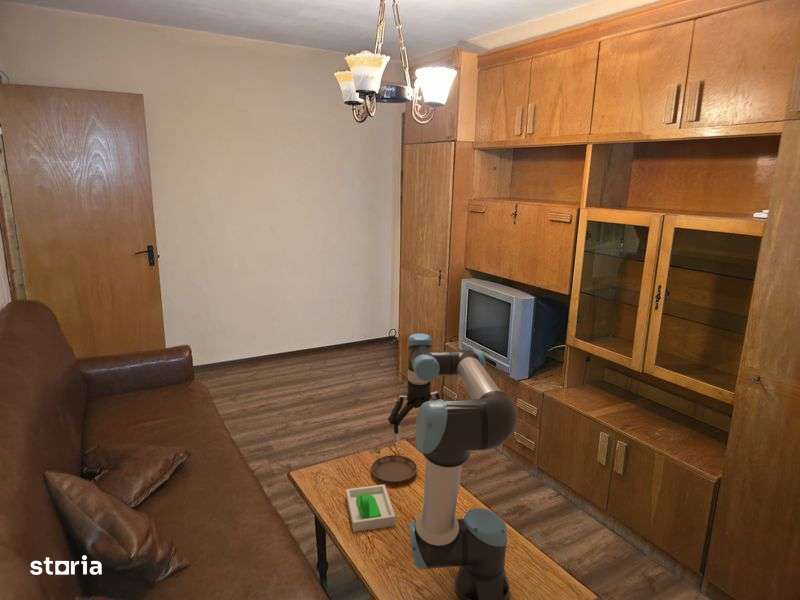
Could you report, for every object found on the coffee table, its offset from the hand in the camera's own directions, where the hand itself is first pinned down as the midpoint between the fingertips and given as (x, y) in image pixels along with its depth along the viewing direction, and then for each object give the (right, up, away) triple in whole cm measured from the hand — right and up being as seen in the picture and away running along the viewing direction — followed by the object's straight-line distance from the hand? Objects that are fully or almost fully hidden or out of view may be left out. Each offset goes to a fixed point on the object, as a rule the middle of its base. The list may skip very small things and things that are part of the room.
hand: (417, 439), depth 174 cm
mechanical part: (-17, -25, +2) cm, 30 cm away
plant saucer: (-8, -21, +25) cm, 34 cm away
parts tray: (-16, -26, +3) cm, 31 cm away
